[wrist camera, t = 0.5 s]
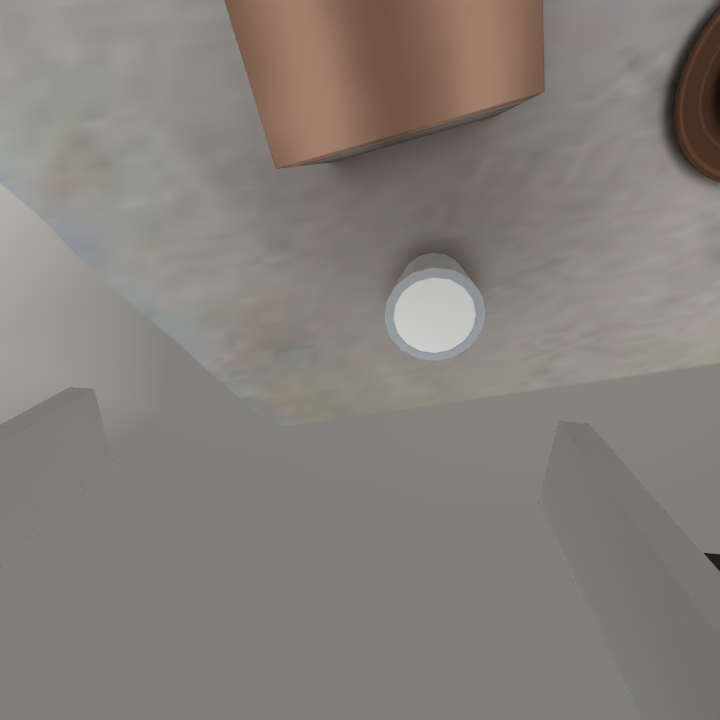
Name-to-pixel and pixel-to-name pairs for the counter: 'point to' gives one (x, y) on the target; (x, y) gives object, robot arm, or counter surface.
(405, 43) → the brown grey striped block
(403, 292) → the grey round tub
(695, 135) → the cup and saucer
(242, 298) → the counter surface
